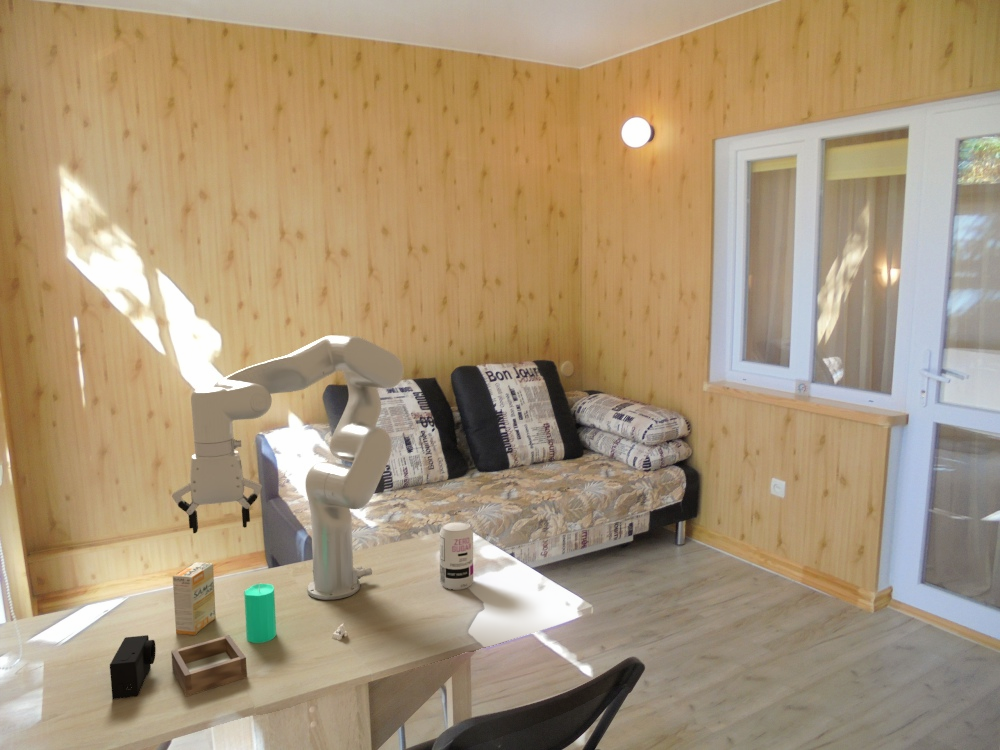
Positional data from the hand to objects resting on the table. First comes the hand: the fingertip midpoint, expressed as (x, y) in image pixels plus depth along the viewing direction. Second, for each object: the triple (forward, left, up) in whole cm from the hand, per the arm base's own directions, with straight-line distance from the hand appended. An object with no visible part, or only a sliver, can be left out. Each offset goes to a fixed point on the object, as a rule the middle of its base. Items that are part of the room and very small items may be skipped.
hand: (220, 528), depth 154 cm
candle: (-6, +4, -24) cm, 25 cm away
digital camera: (+19, +8, -25) cm, 32 cm away
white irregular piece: (-19, +13, -25) cm, 34 cm away
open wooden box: (+7, +13, -24) cm, 28 cm away
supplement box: (+4, -9, -24) cm, 26 cm away
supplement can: (-54, +6, -24) cm, 60 cm away
